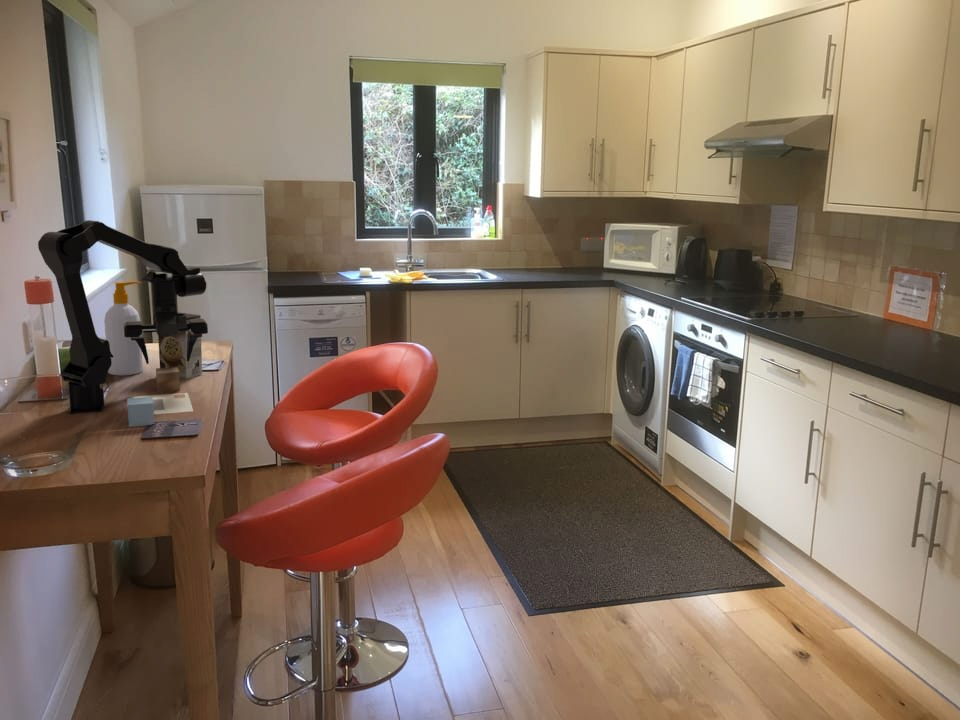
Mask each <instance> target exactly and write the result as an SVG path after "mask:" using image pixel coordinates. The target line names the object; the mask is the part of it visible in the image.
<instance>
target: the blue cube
mask: <svg viewBox="0 0 960 720" xmlns="http://www.w3.org/2000/svg"><path fill="white" fill-rule="evenodd" d="M126 400H127V401H126V402H127V403H126V404H127V417H128V418H127V419H128V427H140V426H141V427H143V426H151V425H152V424H154V425H155V414H154V407H153V398H152V397H144V398H134V397H132V398H127V399H126Z"/></svg>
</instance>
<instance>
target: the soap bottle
mask: <svg viewBox="0 0 960 720" xmlns="http://www.w3.org/2000/svg"><path fill="white" fill-rule="evenodd" d="M114 284H115V290H114V293H112V295H113V305H111V306H110V307H109V308H108V310H107V311H106V312H105V316H104V320H103V321H104V334H105V335H104V336H105V337H104V338H105V340H108V341H109V344H110V351H111V354H112V355H113V358H112V357H111V361H112V364H111V367H110V368H109V370H108V373H107V374H110V375H113V376H121V377H122V376H133V375H137V374H140V373H142V372H143V370H144V365H143V363H144V362H143V353H142V351H141V349H140V347H139V345H138V344H137V342H136V341H135V340H131V337H125V335H124V324H125V323H126V322H136V321H141V317H140V316H139V315H140V314H139V311H137V310H136V309H135V307H134V306H132V305H130V304H129V294H128V293H127V290H126V289H125V286H128V285H129V286H130V285H136V284H137V285H138V284H139V285H141V284H142V282H141V281H137V280H136V281H135V280H133V281H115V282H114Z"/></svg>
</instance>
